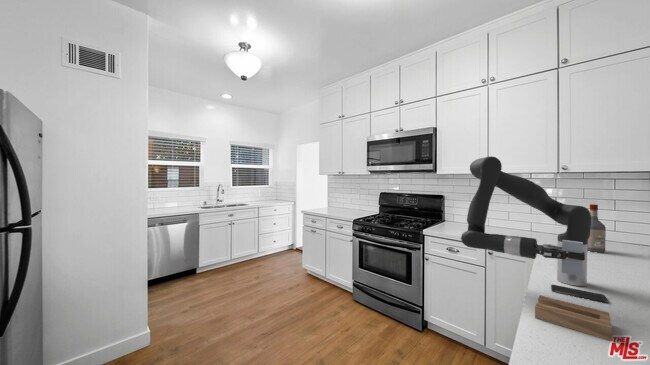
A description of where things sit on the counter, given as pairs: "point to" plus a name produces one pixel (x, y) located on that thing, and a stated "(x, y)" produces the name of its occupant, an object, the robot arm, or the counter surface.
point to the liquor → (596, 232)
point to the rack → (574, 317)
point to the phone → (579, 293)
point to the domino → (572, 264)
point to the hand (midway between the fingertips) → (584, 256)
